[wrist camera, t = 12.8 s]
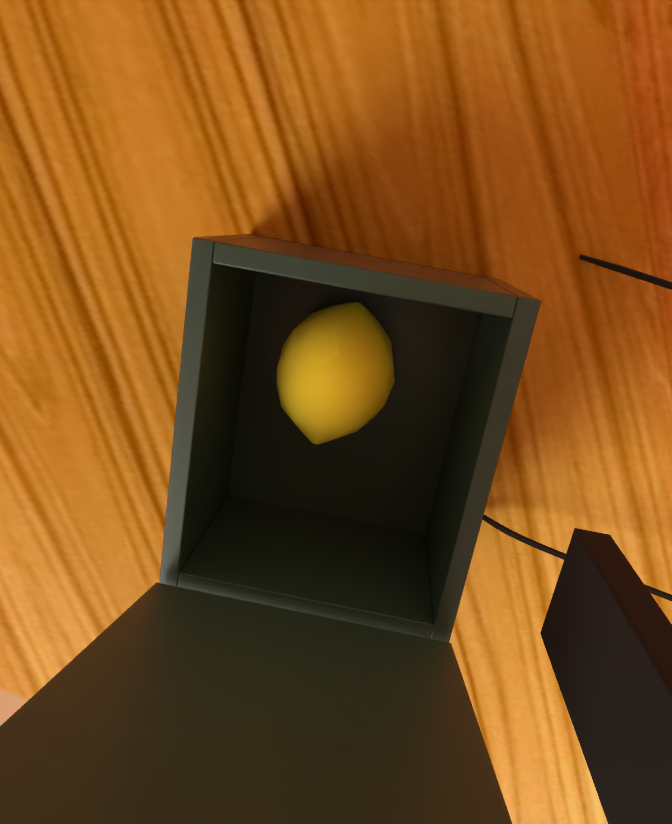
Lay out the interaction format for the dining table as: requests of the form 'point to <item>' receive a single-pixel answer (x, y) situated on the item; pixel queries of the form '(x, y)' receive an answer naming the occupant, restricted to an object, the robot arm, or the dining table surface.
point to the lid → (248, 725)
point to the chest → (343, 457)
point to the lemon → (335, 372)
